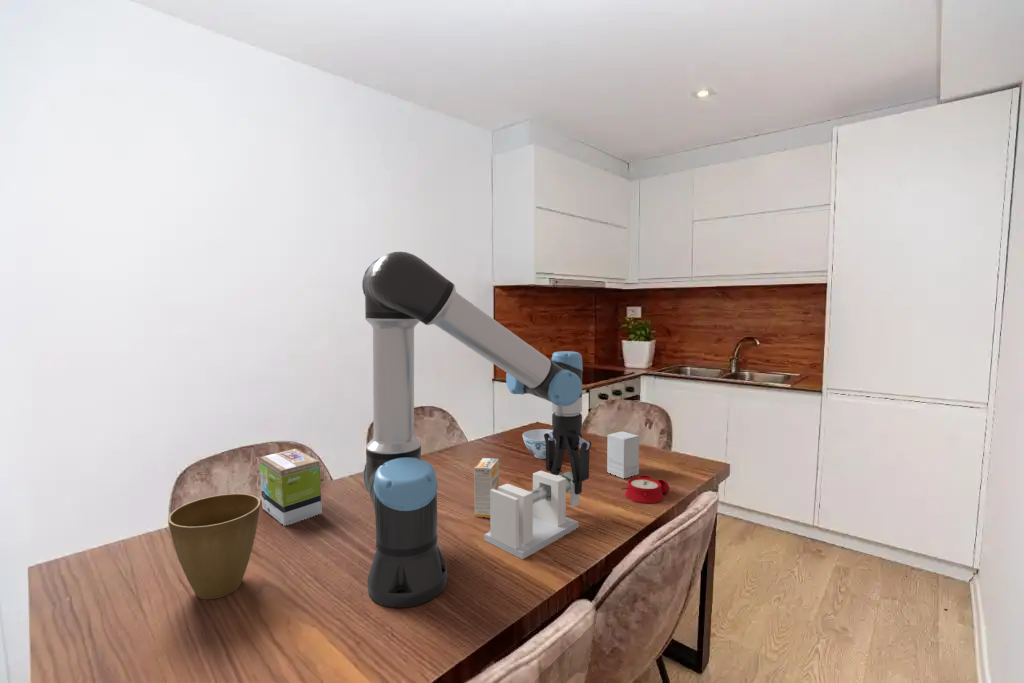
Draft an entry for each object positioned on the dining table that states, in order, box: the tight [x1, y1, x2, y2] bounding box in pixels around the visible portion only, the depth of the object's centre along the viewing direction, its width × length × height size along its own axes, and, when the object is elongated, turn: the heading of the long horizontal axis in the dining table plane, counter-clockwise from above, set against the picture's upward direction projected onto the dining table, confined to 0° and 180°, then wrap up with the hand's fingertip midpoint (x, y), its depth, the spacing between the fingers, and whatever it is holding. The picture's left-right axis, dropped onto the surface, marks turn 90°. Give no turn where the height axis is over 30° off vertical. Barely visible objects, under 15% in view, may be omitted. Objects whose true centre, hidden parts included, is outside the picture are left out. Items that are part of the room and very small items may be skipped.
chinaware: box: [522, 428, 556, 460], centre depth 171 cm, size 15×15×8 cm
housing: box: [484, 470, 580, 560], centre depth 113 cm, size 20×12×12 cm, turn 136°
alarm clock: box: [621, 474, 670, 504], centre depth 136 cm, size 10×6×15 cm
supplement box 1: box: [473, 457, 500, 519], centre depth 126 cm, size 8×5×13 cm, turn 168°
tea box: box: [259, 448, 323, 527], centre depth 126 cm, size 15×10×15 cm, turn 47°
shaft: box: [528, 471, 573, 504], centre depth 115 cm, size 23×5×5 cm, turn 136°
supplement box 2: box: [606, 430, 640, 479], centre depth 153 cm, size 7×7×13 cm
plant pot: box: [167, 493, 261, 600], centre depth 92 cm, size 15×15×16 cm
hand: (566, 502), depth 123 cm, fingers closed on shaft, 5 cm apart
